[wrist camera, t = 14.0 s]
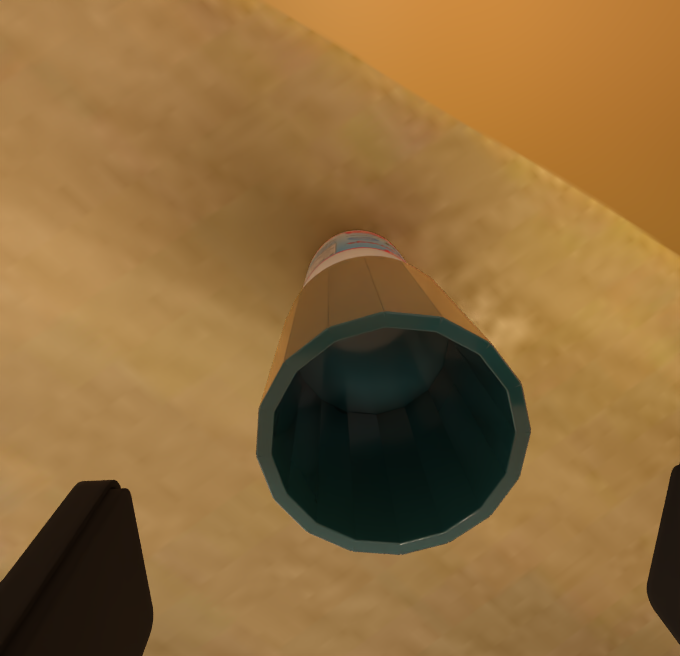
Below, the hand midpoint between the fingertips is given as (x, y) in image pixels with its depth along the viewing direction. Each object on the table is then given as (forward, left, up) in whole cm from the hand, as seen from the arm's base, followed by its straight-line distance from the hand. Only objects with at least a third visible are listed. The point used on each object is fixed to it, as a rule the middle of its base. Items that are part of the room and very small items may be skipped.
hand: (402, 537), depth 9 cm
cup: (+1, 0, -12) cm, 12 cm away
